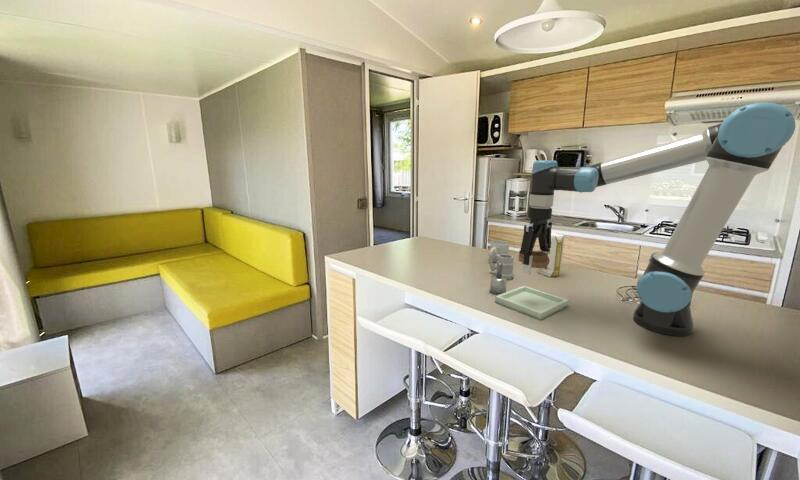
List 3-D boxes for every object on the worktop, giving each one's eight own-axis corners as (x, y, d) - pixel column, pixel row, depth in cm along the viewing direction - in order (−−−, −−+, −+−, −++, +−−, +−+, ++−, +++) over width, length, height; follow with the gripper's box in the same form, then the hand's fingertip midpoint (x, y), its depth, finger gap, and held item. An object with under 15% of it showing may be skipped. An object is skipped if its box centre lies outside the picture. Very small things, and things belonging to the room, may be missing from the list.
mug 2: (506, 281, 147) (508, 254, 144) (484, 274, 156) (485, 249, 153) (516, 277, 151) (518, 251, 149) (494, 271, 160) (496, 246, 158)
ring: (551, 265, 119) (552, 254, 118) (538, 269, 115) (539, 258, 114) (526, 258, 127) (527, 248, 126) (513, 262, 122) (514, 251, 121)
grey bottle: (508, 292, 134) (511, 263, 131) (499, 296, 130) (501, 266, 128) (496, 288, 139) (498, 260, 136) (486, 291, 135) (488, 262, 132)
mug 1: (495, 257, 183) (496, 239, 180) (510, 261, 176) (512, 242, 174) (482, 262, 174) (483, 243, 172) (497, 266, 168) (498, 246, 165)
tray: (568, 306, 122) (568, 300, 121) (540, 320, 111) (541, 313, 111) (523, 291, 136) (523, 285, 135) (495, 302, 125) (495, 296, 124)
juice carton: (549, 270, 161) (553, 231, 157) (562, 276, 153) (567, 235, 149) (536, 272, 159) (539, 232, 155) (549, 278, 151) (553, 236, 147)
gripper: (546, 203, 124) (540, 263, 130) (512, 208, 112) (506, 273, 117) (566, 205, 119) (559, 268, 124) (533, 210, 106) (526, 279, 112)
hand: (533, 270), depth 121 cm, fingers closed on ring, 8 cm apart
